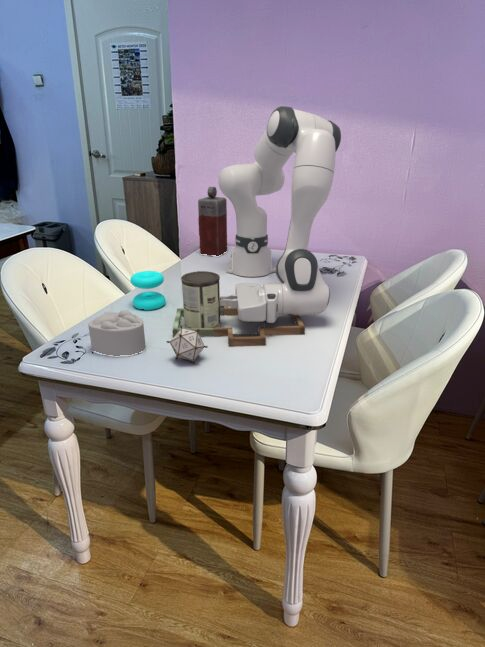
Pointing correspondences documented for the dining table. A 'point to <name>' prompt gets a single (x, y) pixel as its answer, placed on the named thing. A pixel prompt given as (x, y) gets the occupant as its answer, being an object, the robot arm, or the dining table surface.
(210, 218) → the red grey square bottle
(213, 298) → the coffee can
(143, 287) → the donuts
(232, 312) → the brown wooden frame
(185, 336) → the game die
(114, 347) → the lumpy-topped squat cylinder
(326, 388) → the dining table surface
